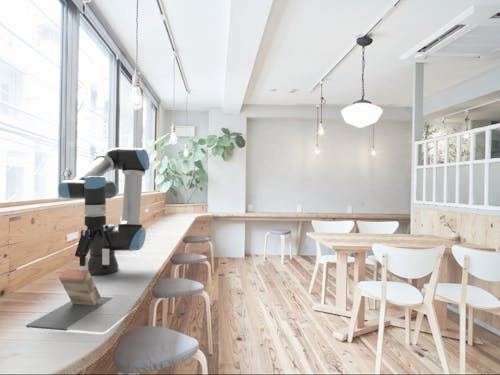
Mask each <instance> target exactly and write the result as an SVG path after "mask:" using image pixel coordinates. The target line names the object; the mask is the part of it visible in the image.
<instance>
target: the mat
mask: <svg viewBox="0 0 500 375" xmlns="http://www.w3.org/2000/svg"><path fill="white" fill-rule="evenodd" d="M112 299H113V297H108V296H100V298H99V300H98V301H97V303H96V304H95V305H84V304H73V303H72V301H71V300H70V301H68V302H67V303H65V304H63V305H61V306H59V307H57V308H56V309H55V308H54V310H51V311H49V312H48V313H46V314H44V315H42V316H41V317H39V318H37V319H35V320H33V321H31V322H30V323H28V324H26V327H25V328H30V329H31V328H33V329H44V330H54V331H56V330H57V331H65V332H66V331H68V328H69V327H71V326H73V325H75V323H77V322H79V321H80V320H82V319H83V318H85V317H86V316H87V315H90V314H91V313H92V312H94V311H95V310H97V309H98V308H100V307H102V306H103V305H105V304H106V303H108V302H109V301H112Z"/></svg>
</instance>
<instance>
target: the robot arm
mask: <svg viewBox="0 0 500 375" xmlns="http://www.w3.org/2000/svg"><path fill="white" fill-rule="evenodd" d="M150 166H151V165H150V157H149V154H148V152H147V150H146V149H144V148H142V147H141V148H138V147H113V148H110V149H108V150H106V151H104V152H101V153H100V154H99V155H97V156H96V157H95V159H94V161H93V162H92V163H91V164H90V165H89V166H87V167H86V168H84V170H83V171H81V172H80V173H79V174H78V175H76V176H75V177H74V178H73V179H72V180H69V179H68V180H63V181H60V182H59V184H58V194H59V196H60V198H62V199H68V200H69V199H70V200H71V199H73V200H74V199H82V200H83V199H84V209H83V214H84V215H85V216H84V226H85V227H86V228H87V229H81V231H80V236H79V241H78V244H77V247H76V250H75V254H74V257H76V258H79V270H89V273H90V275H91V276H102V275H107V274H109V275H110V274H113V273H116V272H117V271H119V263H118V260H117V257H116V254H115V252H120V251H121V252H125V251H126V252H128V251H129V252H133V251H141V249H142V248H143V247H144V245H145V241H146V234H147V233H146V228H144V227H143V223H142V222H141V221H140V219H141V218H140V217H141V200H142V186H143V185H142V184H143V183H142V182H143V176H145V175H146V171H148V170H150ZM114 170H116V171H117V170H121V172H122V174H123V175H124V185H123V198H122V201H123V202H122V213H121V221H120V222H119V223H118V226H117V227H116V226H115V224H107V216H106V213H107V212H106V210H107V207H106V204H107V199H109V200H110V199H112V198H114V197H116V196H117V195H118V193H119V187H118V185H117V183H115V182H114V181H111V180H106V177H105V176H104V175H106V174H107V173H110V172H112V171H114ZM88 254H89V256H87V255H88Z"/></svg>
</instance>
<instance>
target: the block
mask: <svg viewBox="0 0 500 375" xmlns="http://www.w3.org/2000/svg"><path fill="white" fill-rule="evenodd" d="M58 279H59V281H60V283H61V284H62V286H63V288H64V290H65V292H66V294H67V296H68V298H69V299H70V301H72V303H73V304H84V305H95V304H96V303H97V301H98V300H99V298H100V297H101V295H100V292H99V291H98V289H97V286H96V284H95V280H94V279H93V278H92V275H90V273H89V270H80V269H74V268H73V269H71V268H65V269H64V270H63V271H62V273H61V274H60V275H59V276H58Z"/></svg>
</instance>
